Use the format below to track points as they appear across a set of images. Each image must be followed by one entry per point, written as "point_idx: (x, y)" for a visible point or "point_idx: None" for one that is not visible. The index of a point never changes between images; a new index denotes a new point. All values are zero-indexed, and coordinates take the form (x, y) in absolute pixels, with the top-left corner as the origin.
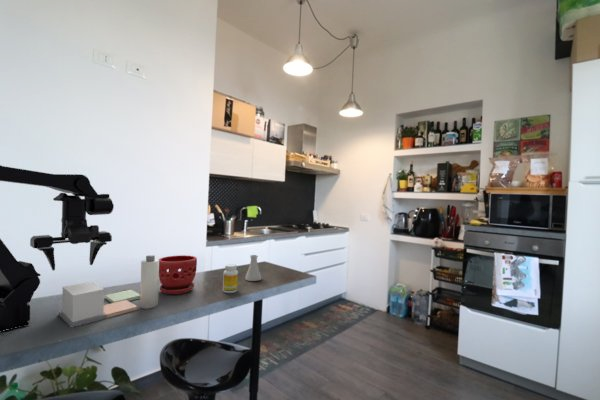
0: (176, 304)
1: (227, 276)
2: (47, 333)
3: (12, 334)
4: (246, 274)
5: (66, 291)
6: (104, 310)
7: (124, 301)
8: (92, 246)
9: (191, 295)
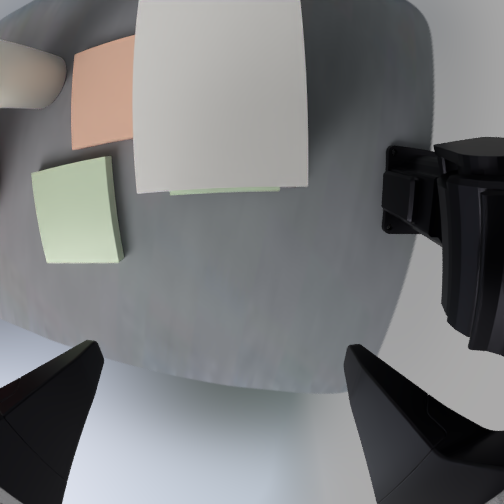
0: None
1: None
2: (352, 38)
3: (421, 114)
4: None
5: (305, 94)
6: None
7: (80, 133)
8: (27, 469)
9: None
